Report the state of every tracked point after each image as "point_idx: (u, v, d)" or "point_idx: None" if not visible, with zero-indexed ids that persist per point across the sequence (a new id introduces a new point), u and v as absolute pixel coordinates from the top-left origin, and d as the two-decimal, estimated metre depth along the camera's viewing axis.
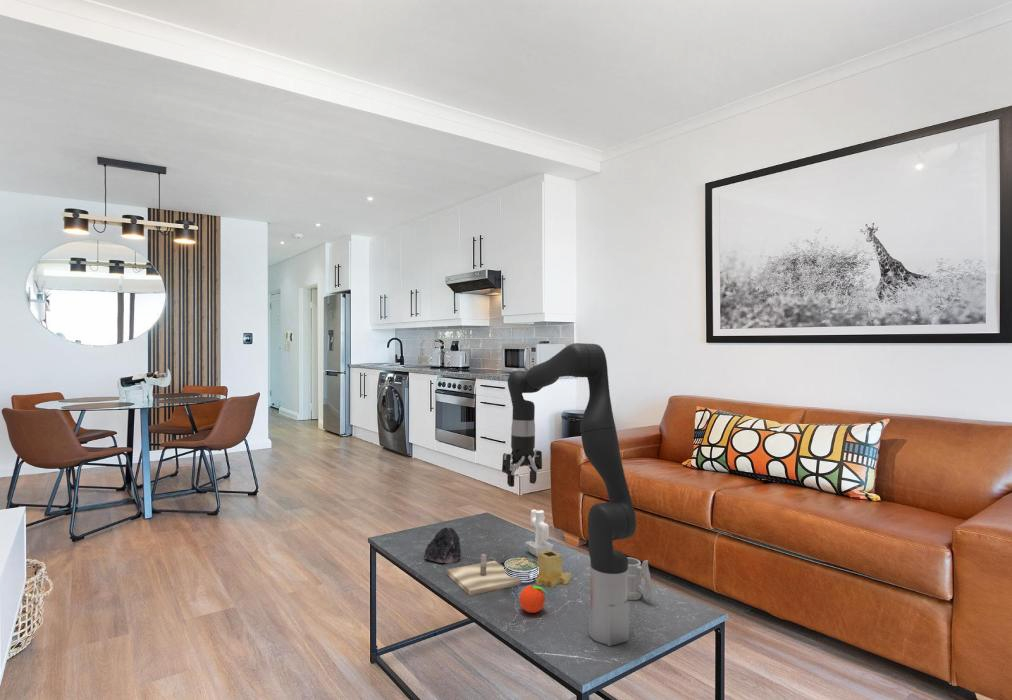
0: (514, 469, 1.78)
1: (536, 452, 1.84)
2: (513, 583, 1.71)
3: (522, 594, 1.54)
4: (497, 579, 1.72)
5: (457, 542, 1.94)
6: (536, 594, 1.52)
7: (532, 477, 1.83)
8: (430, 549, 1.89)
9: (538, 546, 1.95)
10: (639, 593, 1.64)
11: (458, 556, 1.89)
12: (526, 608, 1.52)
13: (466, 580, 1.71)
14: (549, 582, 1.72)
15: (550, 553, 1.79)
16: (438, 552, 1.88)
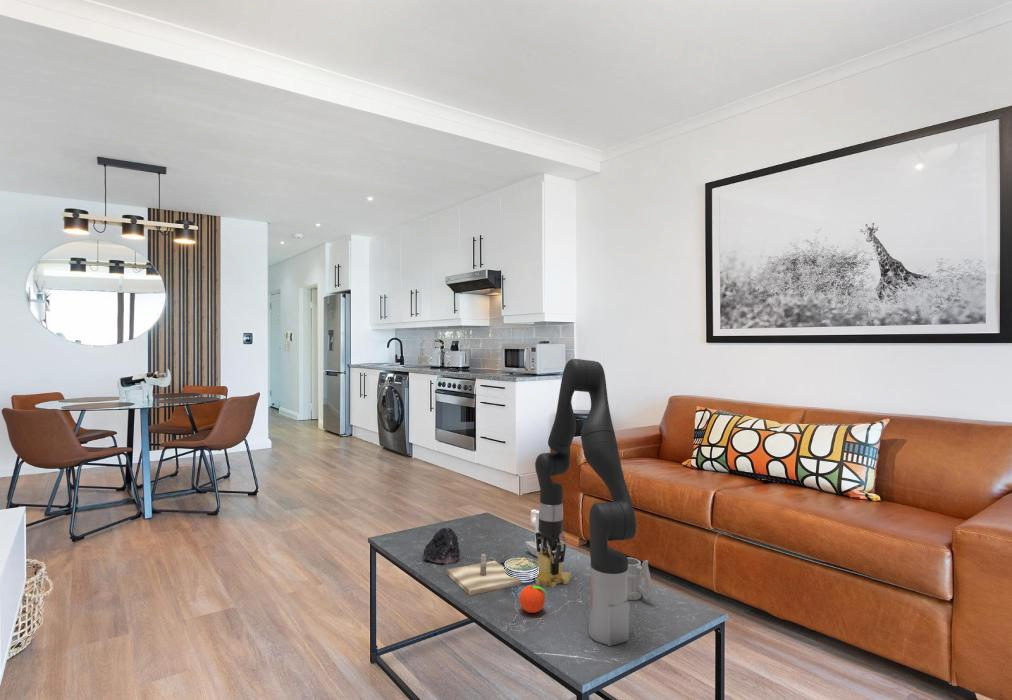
0: None
1: None
2: (513, 583, 1.71)
3: (522, 594, 1.54)
4: (497, 579, 1.72)
5: (456, 542, 1.94)
6: (536, 594, 1.52)
7: None
8: (429, 549, 1.89)
9: None
10: (639, 593, 1.64)
11: (457, 556, 1.89)
12: (526, 608, 1.52)
13: (466, 580, 1.71)
14: (549, 582, 1.72)
15: None
16: (437, 552, 1.88)
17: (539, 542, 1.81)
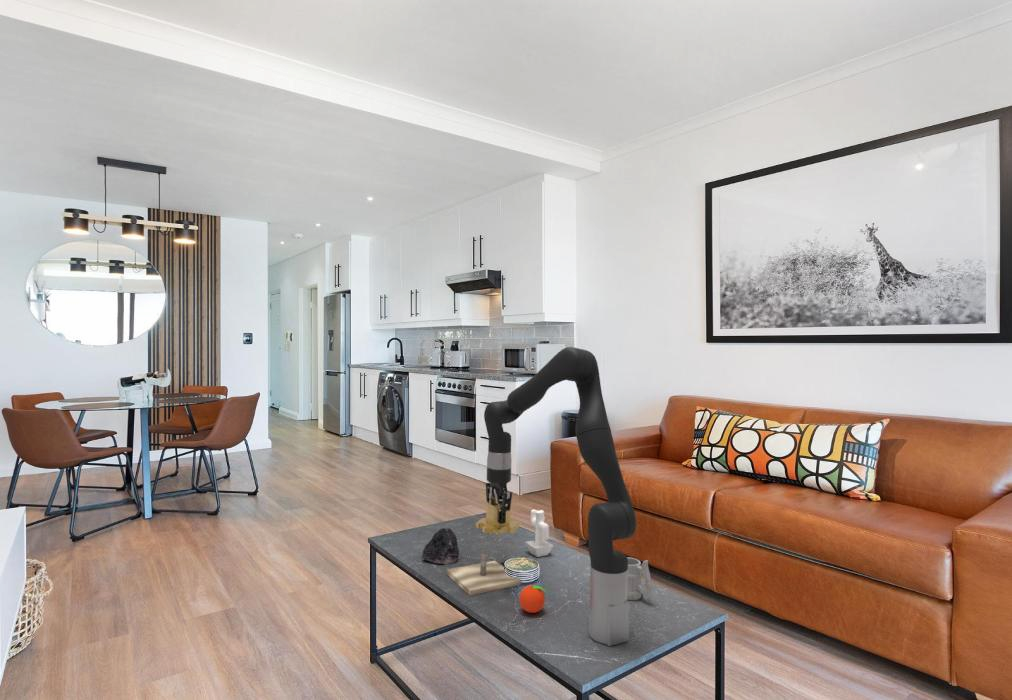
0: None
1: None
2: (513, 583, 1.71)
3: (522, 594, 1.54)
4: (497, 579, 1.72)
5: (455, 543, 1.94)
6: (536, 594, 1.52)
7: None
8: (428, 550, 1.89)
9: (538, 546, 1.95)
10: (639, 593, 1.64)
11: (456, 557, 1.89)
12: (526, 608, 1.52)
13: (466, 580, 1.71)
14: (495, 530, 1.71)
15: None
16: (436, 553, 1.88)
17: (489, 492, 1.80)
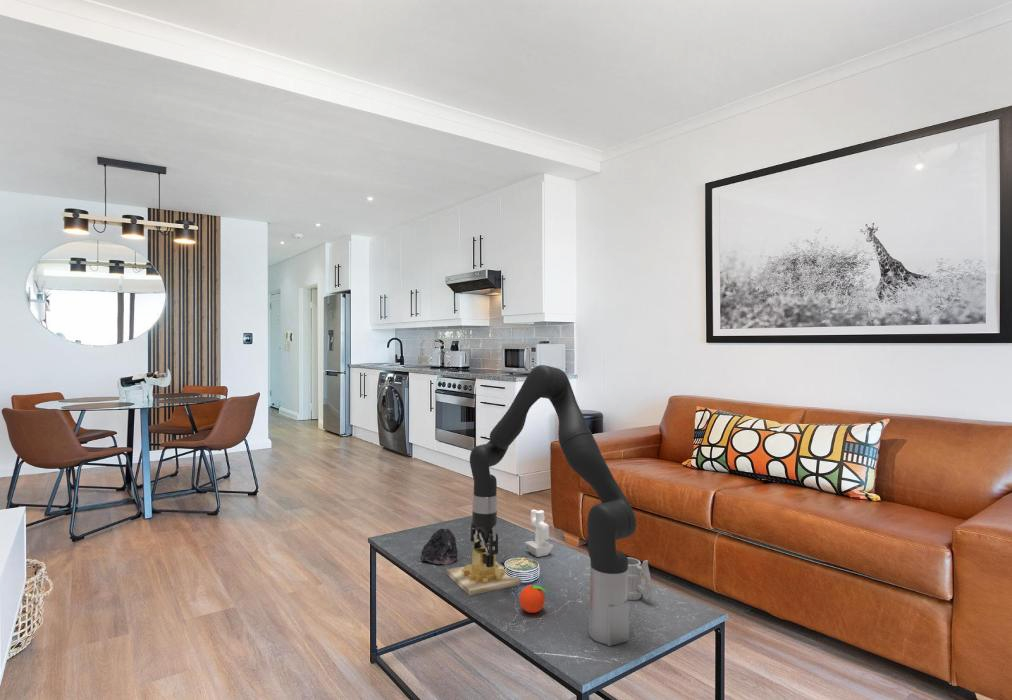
0: None
1: None
2: (513, 583, 1.71)
3: (522, 594, 1.54)
4: None
5: (454, 543, 1.94)
6: (536, 594, 1.52)
7: None
8: (427, 550, 1.88)
9: (538, 546, 1.95)
10: (639, 593, 1.64)
11: (455, 557, 1.88)
12: (526, 608, 1.52)
13: (466, 580, 1.71)
14: (481, 578, 1.69)
15: None
16: (435, 553, 1.87)
17: (473, 532, 1.80)
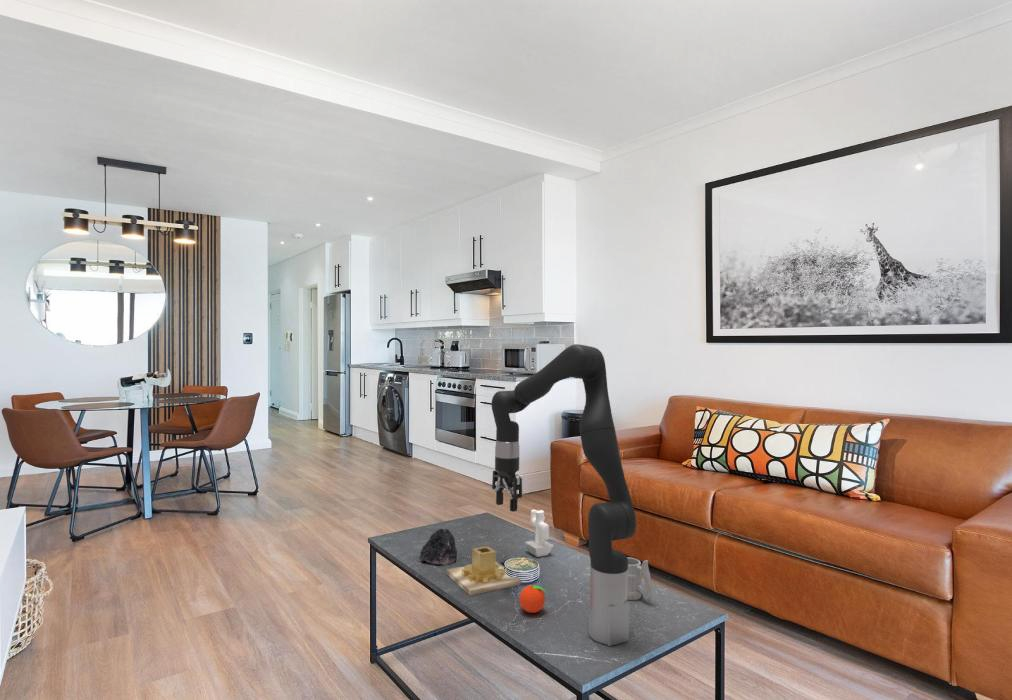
0: None
1: None
2: (513, 583, 1.71)
3: (522, 594, 1.54)
4: None
5: (453, 543, 1.93)
6: (536, 594, 1.52)
7: (501, 498, 1.80)
8: (426, 551, 1.88)
9: (538, 546, 1.95)
10: (639, 593, 1.64)
11: (454, 557, 1.88)
12: (526, 608, 1.52)
13: (466, 580, 1.71)
14: (481, 578, 1.69)
15: (485, 549, 1.77)
16: (434, 553, 1.87)
17: (495, 480, 1.81)
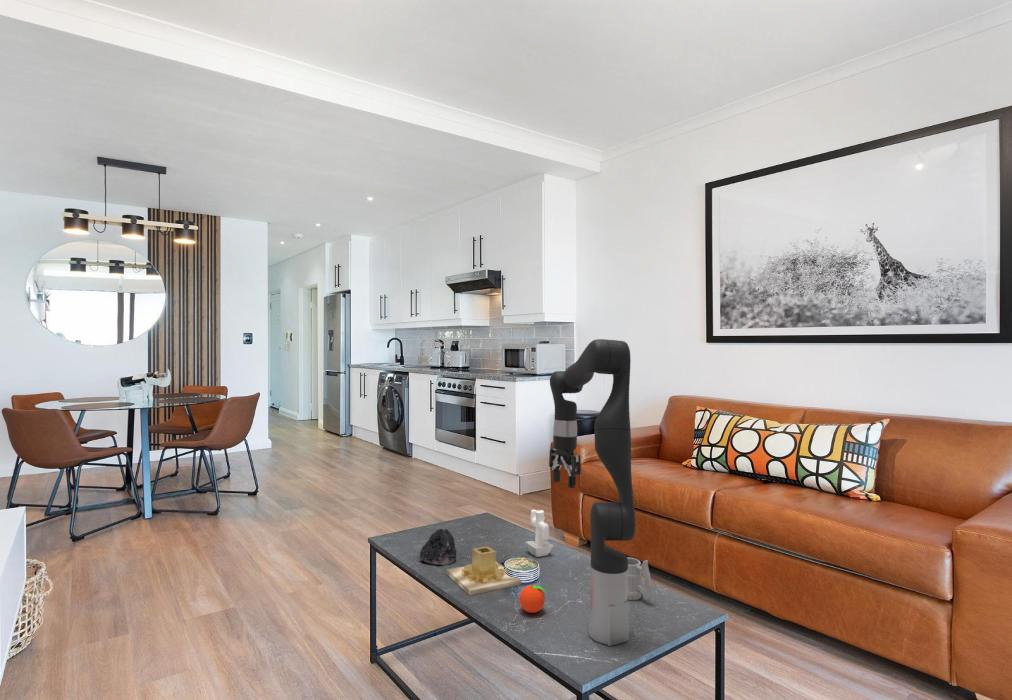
0: None
1: None
2: (513, 583, 1.71)
3: (522, 594, 1.54)
4: None
5: (452, 543, 1.93)
6: (536, 594, 1.52)
7: (558, 476, 1.85)
8: (425, 551, 1.88)
9: (538, 546, 1.95)
10: (639, 593, 1.64)
11: (454, 557, 1.88)
12: (526, 608, 1.52)
13: (466, 580, 1.71)
14: (481, 578, 1.69)
15: (485, 549, 1.77)
16: (434, 554, 1.87)
17: (552, 458, 1.86)
